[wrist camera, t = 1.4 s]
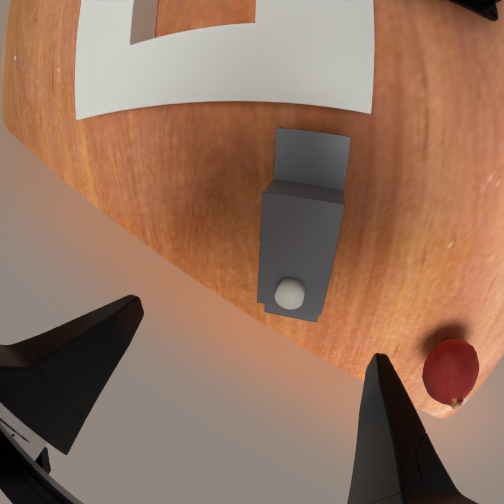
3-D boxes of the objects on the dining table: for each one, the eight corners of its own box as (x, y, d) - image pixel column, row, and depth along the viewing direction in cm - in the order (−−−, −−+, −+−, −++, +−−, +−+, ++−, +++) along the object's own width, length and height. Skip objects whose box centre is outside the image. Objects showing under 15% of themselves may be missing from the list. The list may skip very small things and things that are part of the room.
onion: (471, 345, 20) (487, 408, 13) (426, 366, 23) (432, 430, 16) (464, 311, 19) (486, 380, 12) (412, 336, 22) (420, 408, 15)
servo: (287, 124, 16) (260, 133, 11) (347, 132, 16) (354, 144, 10) (275, 284, 23) (251, 342, 18) (321, 292, 22) (310, 355, 17)
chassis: (359, -67, 6) (360, -87, 4) (365, 113, 14) (370, 113, 12) (109, -26, 11) (88, -31, 9) (100, 114, 20) (76, 120, 17)
